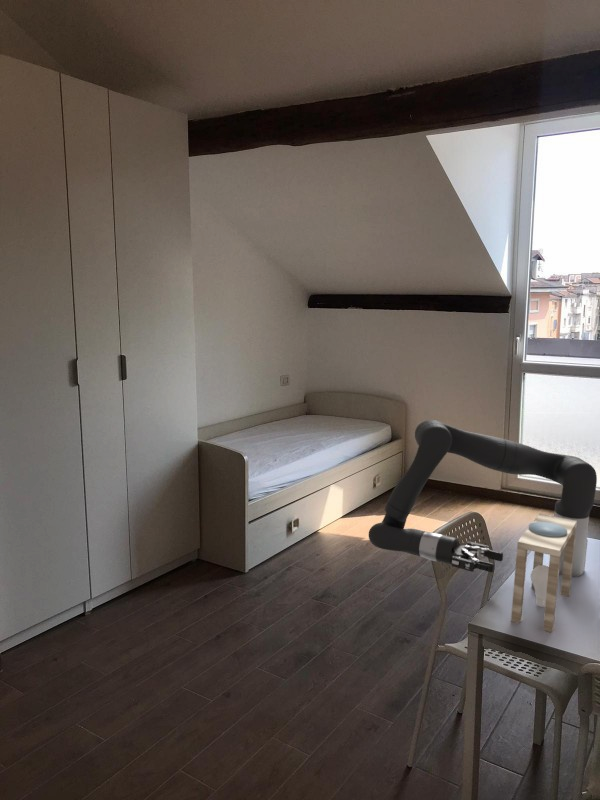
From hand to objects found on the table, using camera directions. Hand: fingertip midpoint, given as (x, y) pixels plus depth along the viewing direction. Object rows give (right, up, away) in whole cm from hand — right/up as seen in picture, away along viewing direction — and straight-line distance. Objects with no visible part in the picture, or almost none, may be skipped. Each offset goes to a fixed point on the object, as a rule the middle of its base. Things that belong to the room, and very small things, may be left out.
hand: (498, 562), depth 170 cm
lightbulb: (+10, -10, -4) cm, 15 cm away
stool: (+10, -10, -4) cm, 15 cm away
